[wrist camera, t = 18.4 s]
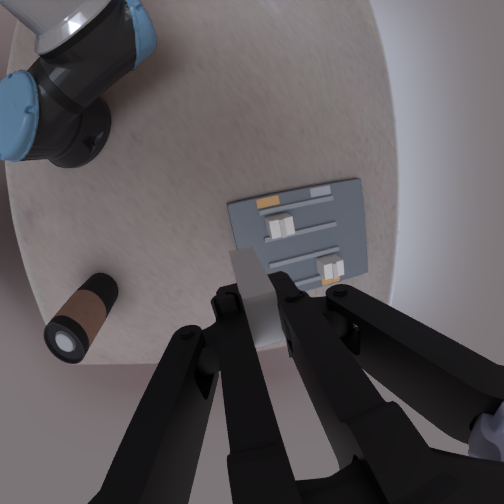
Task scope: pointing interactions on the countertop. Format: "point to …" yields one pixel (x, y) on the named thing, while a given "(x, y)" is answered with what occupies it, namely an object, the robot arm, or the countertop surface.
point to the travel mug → (81, 319)
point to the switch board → (306, 230)
